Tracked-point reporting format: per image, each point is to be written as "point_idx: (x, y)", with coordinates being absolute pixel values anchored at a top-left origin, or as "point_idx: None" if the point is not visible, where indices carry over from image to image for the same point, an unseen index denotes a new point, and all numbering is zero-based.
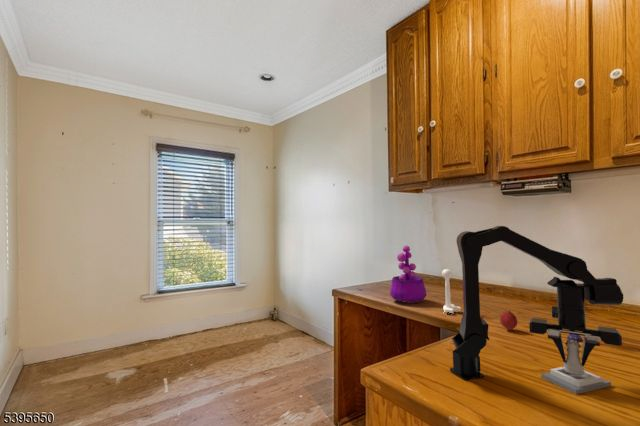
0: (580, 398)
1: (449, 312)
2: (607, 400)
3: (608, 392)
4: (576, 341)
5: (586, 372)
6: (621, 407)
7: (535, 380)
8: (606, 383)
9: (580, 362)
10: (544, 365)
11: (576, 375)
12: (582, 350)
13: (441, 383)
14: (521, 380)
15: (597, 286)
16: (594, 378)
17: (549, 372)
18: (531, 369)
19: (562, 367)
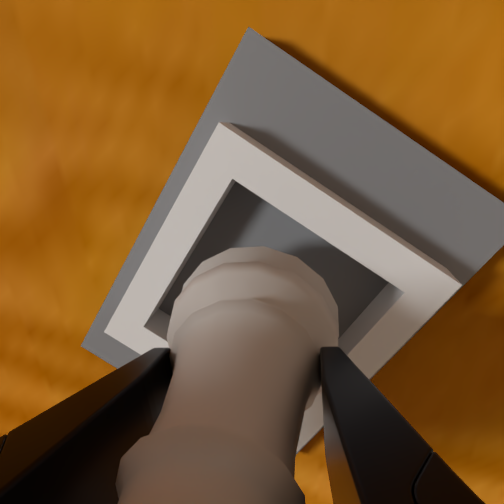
0: (304, 477)
1: None
2: (435, 442)
3: (463, 335)
4: None
5: (351, 240)
6: (492, 485)
7: (83, 382)
8: (483, 262)
9: (308, 398)
10: (40, 76)
11: (275, 240)
12: (350, 493)
13: None
14: (34, 416)
15: None
16: (404, 337)
17: (111, 294)
18: (8, 229)
19: (167, 239)
